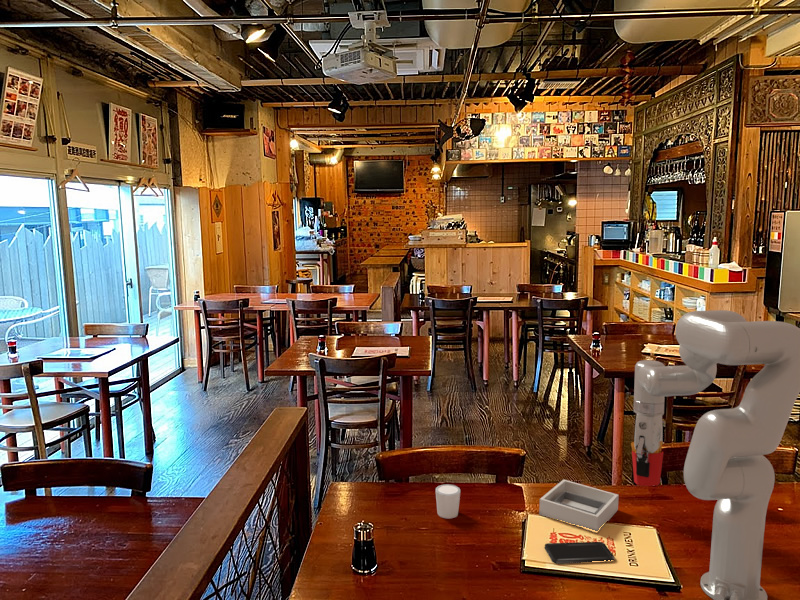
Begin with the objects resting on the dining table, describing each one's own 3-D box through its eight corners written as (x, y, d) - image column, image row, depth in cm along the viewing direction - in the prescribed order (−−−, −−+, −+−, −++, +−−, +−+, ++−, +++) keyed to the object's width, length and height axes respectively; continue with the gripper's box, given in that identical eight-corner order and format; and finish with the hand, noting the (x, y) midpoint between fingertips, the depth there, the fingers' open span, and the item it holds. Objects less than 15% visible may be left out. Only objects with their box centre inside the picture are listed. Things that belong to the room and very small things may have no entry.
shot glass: (464, 516, 162) (465, 492, 161) (441, 521, 159) (442, 496, 158) (453, 505, 168) (453, 482, 167) (431, 510, 165) (431, 486, 165)
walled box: (596, 533, 153) (597, 516, 152) (539, 514, 163) (539, 499, 162) (617, 510, 165) (618, 494, 165) (563, 493, 175) (563, 479, 175)
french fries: (657, 479, 163) (658, 436, 162) (664, 484, 159) (666, 441, 158) (627, 480, 163) (628, 438, 161) (634, 486, 159) (635, 443, 157)
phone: (616, 559, 140) (553, 560, 139) (615, 563, 140) (553, 565, 139) (602, 541, 148) (543, 543, 147) (602, 545, 148) (543, 547, 147)
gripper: (654, 417, 150) (651, 486, 152) (672, 402, 164) (669, 466, 165) (623, 411, 155) (621, 478, 157) (643, 398, 168) (641, 460, 170)
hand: (646, 471), depth 161 cm, fingers closed on french fries, 5 cm apart
